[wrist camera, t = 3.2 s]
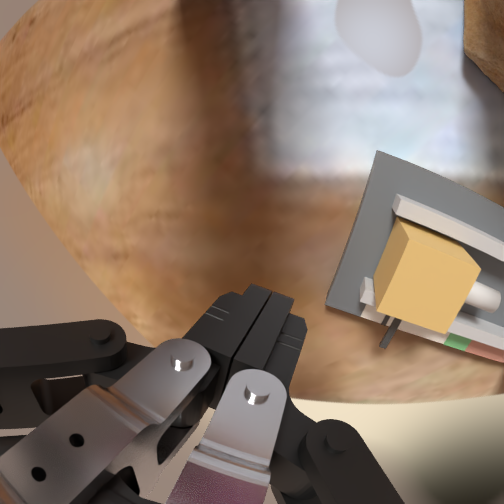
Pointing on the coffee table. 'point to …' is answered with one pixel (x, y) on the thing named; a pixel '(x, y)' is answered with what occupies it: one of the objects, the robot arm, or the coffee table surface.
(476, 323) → the base
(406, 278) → the gauge carriage
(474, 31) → the brown clay boot
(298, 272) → the coffee table surface
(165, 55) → the coffee table surface
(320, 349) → the coffee table surface
